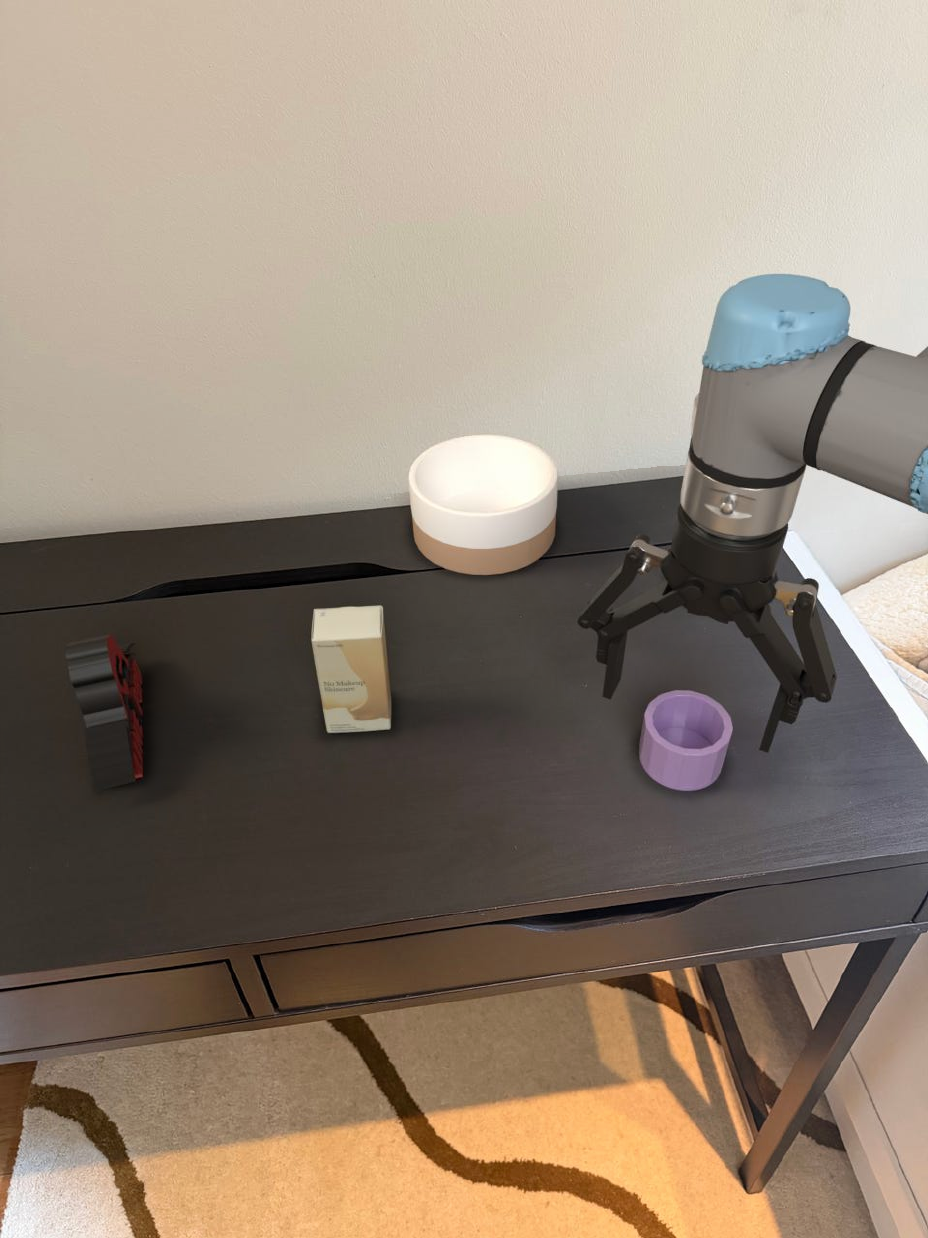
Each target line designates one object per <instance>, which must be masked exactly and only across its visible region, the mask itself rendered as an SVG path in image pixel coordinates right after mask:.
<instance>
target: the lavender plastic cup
mask: <svg viewBox="0 0 928 1238" xmlns="http://www.w3.org/2000/svg"><path fill="white" fill-rule="evenodd" d="M733 731H734V728H733V723H732V718H731V716H730V714H729V713H728V712H727V710H726V709H725V708H724V706H723V705H722V704H721V703H720V702H718V701H717V700H715V699H714V698H712V697H711V696H709V695H707V694H704V693H701V692H697V691H694V690H687V689H686V690H685V689H674V690H671V691H667V692H662V693H661V694H659V695H657V696H656V697H655V698H653V699H652V700H651V701H649V703H648V704H647V707H646V708H645V711H644V714H643V721H642V727H641V733H640V739H639V745H638V747H639V749H638V757H639V762H640V765H641V766H642V769H643V770H644V771H645V773H646V774H647V775H648V776H649V778H651V779H652V780H654V781H655V782H656V783H658V784H660V785H662V786H663V787H666V788H668V789H670V790H671V789H672V790H674V791H675V790H676V791H681V792H694V791H699V790H702V789H705V788H707V787H709V786H711V785H712V784H713V783H714V782H716V781H717V780H718V778H720V775H721V773H722V771H723V770H722V769H723V767H724V764H725V762H726V761H725V760H726V759H727V753H728V750H729V747H730V742H731V738H732V735H733Z"/></svg>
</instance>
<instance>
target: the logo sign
mask: <svg viewBox="0 0 928 1238" xmlns="http://www.w3.org/2000/svg"><path fill="white" fill-rule="evenodd" d="M134 645H136V643H135V642H129V643H128V642H127V643H125V644H120V645H119V644H117V642H116V640H115V637H114V636H113V635H111V634H105V635H101V636H95V637H92V638H91V637H90V638H86V639H82V640H77V641H76V640H75V641H71V642H68V644H67V645H65V648H64V653H65V659H66V662H67V663H66V664H67V669H68V673H69V678H70V683H71V685H72V687H73V688H74V692H75V696H76V699H77V703H78V706H79V709H80V710H81V714H82V715H83V721H84V723H85V726H86V728H84V737H85V738H84V739H85V745H86V753H87V760H88V766H89V772H90V776H91V777H90V778H91V780H92V786H93V790H94V791H95V792H97V791H100V790H105V789H109V788H110V789H111V788H113V787H118V786H122V785H127V784H130V783H134V782H137V779H138V778H143V777H144V760H143V759H144V757H143V755H144V754H143V748H142V747H143V740H142V739H143V727H142V726H143V725H144V724H143V723H144V722H143V719H142V717H143V709H142V707H141V704H142V703H143V689H142V685H143V676H142V673H141V670H140V668H139V665H138V662H137V660H136V658H133V656H134V655H135V654H136V652H131V649H132V648H133V646H134ZM140 703H141V704H140Z"/></svg>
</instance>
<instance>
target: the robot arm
mask: <svg viewBox="0 0 928 1238" xmlns="http://www.w3.org/2000/svg"><path fill="white" fill-rule="evenodd" d="M850 315H851V304H850V301H849V299H848V297H847V295H846V294H845V293H844V292H843V291H842V290H840V289H839V288H837V287H832V286H830V285H829V284H828V283H827V282H826V281H824V280H822V279H818V278H815V277H811V276H806V275H800V274H791V273H768V274H767V273H765V274H759V275H755V276H750V277H747V278H744V279H742V280H739V281H738V282H737V283H736V284H734V285H732V286H729V288H727V289H726V290H725V291H724V292H723V293H722V295H721V296H720V298H719V300H718V302H717V304H716V309H715V313H714V316H713V320H712V324H711V329H710V332H709V335H708V336H709V337H708V340H707V345H706V348H705V350H704V352H703V354H702V356H701V364H702V373H701V377H700V384H699V391H698V393H699V397H698V403H697V410H696V416H695V422H694V428H693V435H692V437H691V438H690V442H689V448H688V452H687V455H686V456H687V457H686V461H685V468H684V472H683V479H682V483H681V488H680V495H679V496H680V499H679V500H680V503H679V504H678V507H677V513H676V517H675V523H674V529H673V534H672V540H671V545H670V548H669V549H668V550H666V549H663V548H660V547H658V546H656V545H652V544H651V543H652V540H651V538H650V537H649V536H648V535H647V534H644V533H640V534H638V535H636V537H635V539H634V540H633V542H632V544H631V546H630V547H629V549H628V551H627V553H626V554H625V558H624V561H623V563H622V564H621V565H620V566H619V567H618V568H617V569H616V570H615V572H614V573H613V574H611V576H610V577H609V578H608V579H607V580H606V582H604V584H603V585H602V586H601V587H599V590H597V591H596V592H595V594H594V595H593V596H592V597H591V598H590V600H588V602H587V603H586V606H584V608H583V610H582V612H581V614H580V615H579V617H578V619H577V625H578V626H579V627H580V628H582V629H585V630H588V629H591V630H593V631H595V633H596V634H597V637H598V639H597V645H596V646H597V647H596V654H595V659H596V661H597V663H598V664H599V663H600V664H602V665H605V674H604V680H603V689H602V698H605V699H607V700H612V698H613V696H614V694H615V693H616V690H617V688H618V686H619V684H620V682H621V679H622V673H623V668H624V667H623V666H624V659H625V652H626V646H627V639H628V632H629V631H630V630H631V629H633V628H636V627H637V626H640V625H641V624H644V623H645V622H647V621H649V620H650V619H653V618H654V617H657V616H658V615H661V614H664V615H666V614H668V613H670V612H671V611H672V612H673V611H674V610H676V609H678V608H680V607H683V608H684V609H686V610H687V613H688V614H691V615H695V616H700V617H708V618H710V619H712V620H714V621H716V622H719V623H722V624H725V625H729V622H730V623H731V622H734V623H735V625H736V627H737V628H738V630H739V632H741V634H742V635H743V637H744V638H746V639H748V638H749V639H750V640H751V642H752V644H753V645H754V647H755V648H756V649H757V651H758V653H759V654H760V655H761V657H762V658H763V660H764V662H765V663H766V665H767V666H768V668H769V669H770V671H771V672H772V674H773V675H774V676H775V678H776V680H777V681H778V682H779V687H778V690H777V693H776V696H775V699H774V702H773V705H772V708H771V711H770V714H769V717H768V720H767V723H766V726H765V730H764V733H763V735H762V738H761V742H760V745H759V748H758V750H759V751H761V752H764V753H767V754H769V752H770V748H771V746H772V744H773V741H774V737H775V734H776V731H777V730H778V729H777V728H778V726H779V723H780V722H782V723H786V724H789V725H793V724H794V723H795V722H796V721H797V718H798V715H799V713H800V710H801V707H802V706H803V704H804V701H805V699H808V698H815V700H817V701H818V702H819V703H823V704H824V703H825V704H826V703H829V702H831V700H832V698H833V694H834V690H835V686H836V682H837V678H838V677H837V672H836V668H835V665H834V662H833V659H832V655H831V652H830V649H829V645H828V644H829V643H828V642H827V638H826V634H825V631H824V628H823V625H822V624H823V623H822V621H821V617H820V614H819V611H818V607H817V600H818V594H819V588H820V583H819V581H817V580H816V579H815V578H811V577H807V578H804V579H803V580H802V581H801V583H800V584H799V583H795V582H794V583H793V582H790V581H789V582H788V581H783V580H782V581H781V580H779V576H778V572H777V569H778V566H779V562H780V558H781V554H782V551H783V547H784V544H785V540H786V537H787V533H788V531H789V522H790V520H791V519H792V517H793V514H794V510H795V507H796V503H797V500H798V496H799V493H800V490H801V487H802V483H803V479H804V476H805V472H806V470H807V466H808V467H809V468H812V469H815V470H817V471H822V472H824V473H827V474H830V475H833V476H834V477H838V478H840V479H842V480H845V481H847V482H850V483H852V484H855V485H857V486H860V487H862V488H865V489H867V490H869V491H872V492H875V493H876V494H879V495H882V496H885V497H887V498H890V499H892V500H893V501H894V500H895V501H897V502H899V503H901V504H904V505H906V506H909V507H912V508H913V509H917V511H918V512H920V513H923V514H926V515H928V345H927V346H926V347H925V348H924V349H923V350H922V351H921V352H919V353H918V354H917V355H916V356H915V355H911V354H907V353H904V352H900V351H898V350H897V351H896V350H893V349H891V348H890V349H889V348H886V347H882V346H878V345H875V344H873V343H869V342H866V341H865V340H862V339H858V338H855V337H852V336H850V335H849V331H850V327H851V324H850V322H849V320H850ZM657 567H658V568H660V572H661V573H662V575H663V577H664V581H662V582H661V583H660V584H658V585H656V586H654V587H652V588H650V589H649V590H646V591H645V592H644V593H642V594H639V595H637V596H636V597H634V598H633V599H631V600H629V601H627V602H626V603H624V604H622V605H620V606H618V607H616V608H614V607H613V606H612V605H613V604H614V603H615V602H616V601H617V600H618V599H619V597H621V595H622V594H623V593H625V591H626V590H627V589H628V588H629V587H630V586H631V585H632V584H633V582H634V581H635V579H636V578H637V576H638V575H642V576H643V575H645V573H649V572H650V571H651V570H652V569H653V568H657ZM774 600H778V601H780V602H781V604H782V606H783V610H784V611H785V614H786V616H788V617H792V621H791V622H792V629H793V632H794V635H795V638H796V642H797V645H798V649H799V652H800V655H801V657H800V656H799V654H798V653H797V651H796V649H795V648H794V647H793V645H792V643H791V642H790V640H789V639H788V637H787V636H786V634H785V633H784V632H783V629H782V628H781V626H780V625H779V623H778V622H777V621H776V618H775V617H774V616H773V614H772V609H771V605H770V604H771V603H772V602H773V601H774ZM611 606H612V607H611ZM608 609H609V611H607V610H608ZM801 658H802V659H801Z"/></svg>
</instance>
